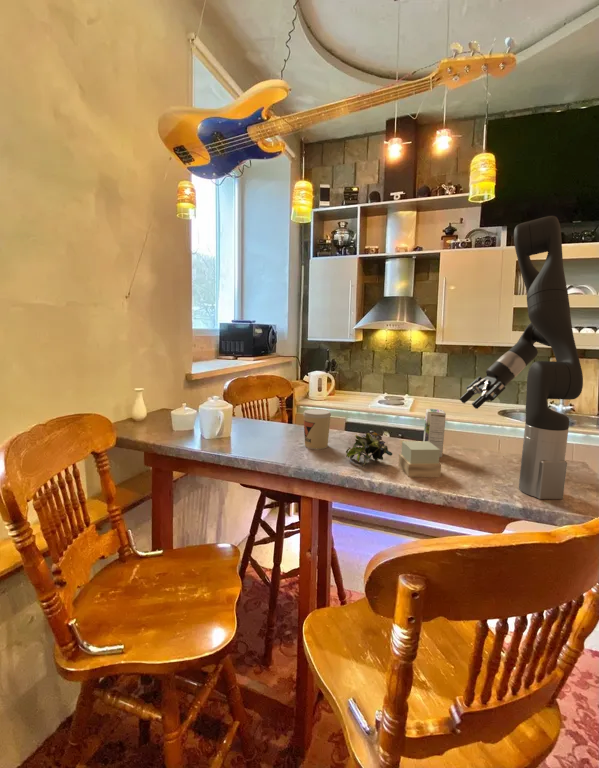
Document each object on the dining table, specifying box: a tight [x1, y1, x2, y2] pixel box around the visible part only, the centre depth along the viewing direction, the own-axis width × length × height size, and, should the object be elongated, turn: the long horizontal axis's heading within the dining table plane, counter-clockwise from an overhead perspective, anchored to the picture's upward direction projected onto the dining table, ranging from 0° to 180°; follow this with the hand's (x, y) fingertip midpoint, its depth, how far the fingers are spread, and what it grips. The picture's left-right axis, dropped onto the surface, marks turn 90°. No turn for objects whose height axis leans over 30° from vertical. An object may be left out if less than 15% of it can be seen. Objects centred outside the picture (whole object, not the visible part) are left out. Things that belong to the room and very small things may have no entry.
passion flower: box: [345, 432, 393, 468], centre depth 122 cm, size 11×11×12 cm
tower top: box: [400, 440, 440, 464], centre depth 116 cm, size 8×8×4 cm
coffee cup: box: [302, 408, 332, 450], centre depth 138 cm, size 9×9×12 cm
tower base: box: [398, 453, 442, 478], centre depth 116 cm, size 9×9×4 cm
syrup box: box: [422, 408, 447, 458], centre depth 131 cm, size 6×6×14 cm
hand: (467, 403), depth 130 cm, fingers open, 8 cm apart
